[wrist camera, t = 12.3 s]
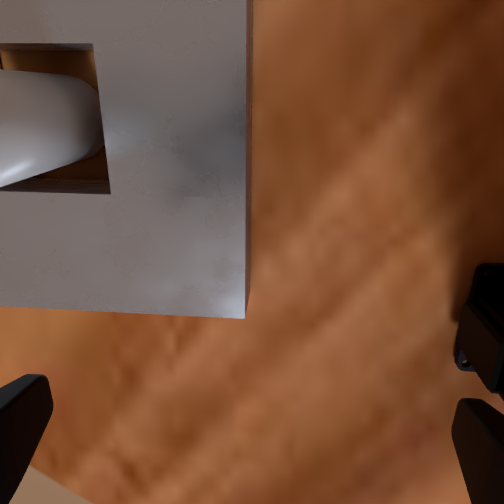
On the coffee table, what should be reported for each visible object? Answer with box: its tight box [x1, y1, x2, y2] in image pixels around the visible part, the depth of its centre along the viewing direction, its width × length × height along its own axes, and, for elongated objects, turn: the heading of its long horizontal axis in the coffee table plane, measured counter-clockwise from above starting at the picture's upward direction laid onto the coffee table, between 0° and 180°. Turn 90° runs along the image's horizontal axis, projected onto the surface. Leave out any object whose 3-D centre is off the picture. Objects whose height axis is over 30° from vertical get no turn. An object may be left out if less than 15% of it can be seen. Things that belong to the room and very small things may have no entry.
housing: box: [0, 0, 253, 319], centre depth 18 cm, size 18×18×3 cm
